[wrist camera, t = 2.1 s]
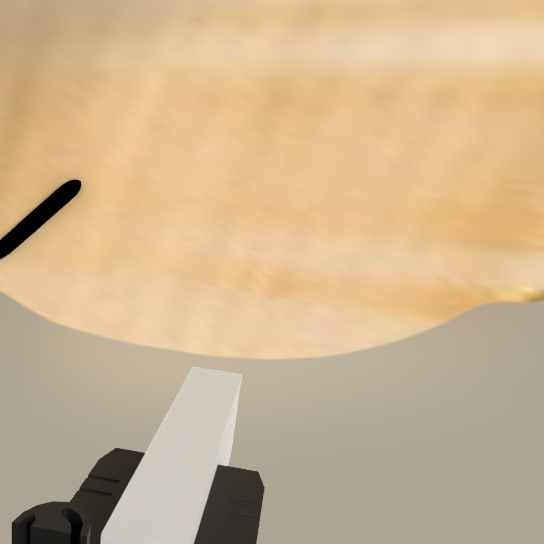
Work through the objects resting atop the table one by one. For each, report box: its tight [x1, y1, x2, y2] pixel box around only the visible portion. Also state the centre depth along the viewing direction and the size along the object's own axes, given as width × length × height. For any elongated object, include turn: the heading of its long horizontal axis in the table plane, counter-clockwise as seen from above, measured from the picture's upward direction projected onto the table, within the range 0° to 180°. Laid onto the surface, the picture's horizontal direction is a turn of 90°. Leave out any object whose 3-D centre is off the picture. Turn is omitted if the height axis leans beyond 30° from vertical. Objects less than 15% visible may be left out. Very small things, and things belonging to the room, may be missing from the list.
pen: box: [0, 180, 81, 259], centre depth 51 cm, size 2×14×2 cm, turn 128°
